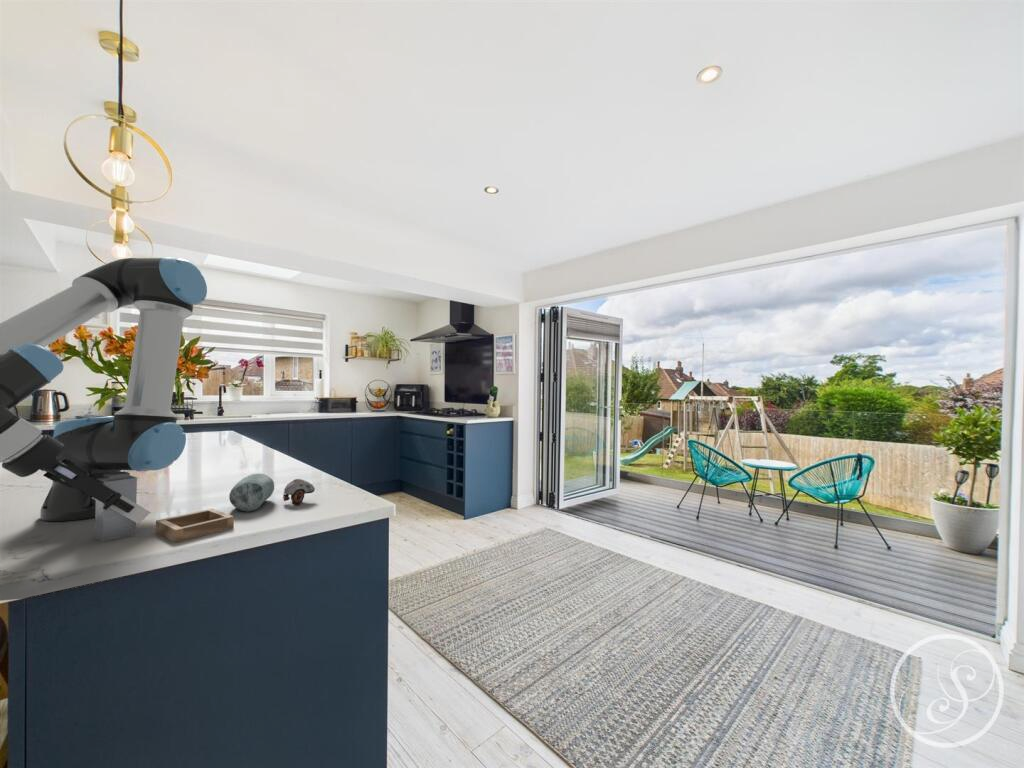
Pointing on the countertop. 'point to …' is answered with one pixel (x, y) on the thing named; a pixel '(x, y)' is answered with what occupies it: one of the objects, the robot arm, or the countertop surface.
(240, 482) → the mottled river stone
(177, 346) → the robot arm
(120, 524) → the grey upright rectangular pillar
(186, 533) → the tray
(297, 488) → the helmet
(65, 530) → the countertop surface
